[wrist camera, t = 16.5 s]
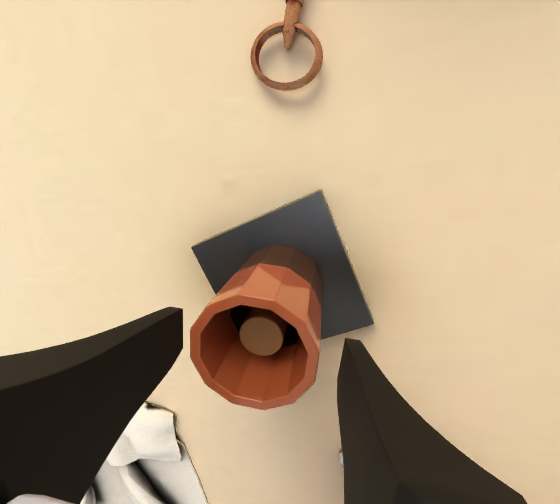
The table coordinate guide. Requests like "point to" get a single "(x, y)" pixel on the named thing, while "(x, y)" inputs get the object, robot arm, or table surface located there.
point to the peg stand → (308, 239)
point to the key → (287, 46)
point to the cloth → (147, 465)
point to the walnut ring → (293, 261)
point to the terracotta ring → (242, 363)
